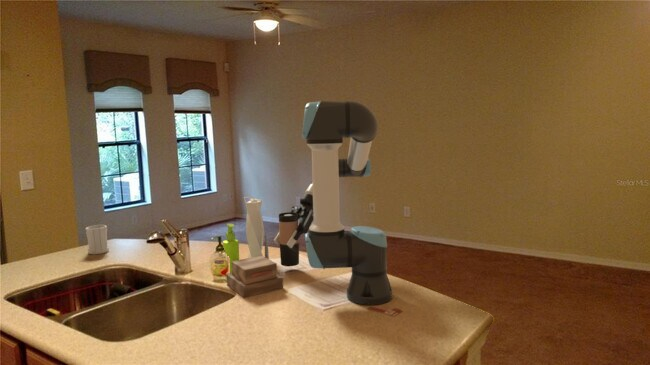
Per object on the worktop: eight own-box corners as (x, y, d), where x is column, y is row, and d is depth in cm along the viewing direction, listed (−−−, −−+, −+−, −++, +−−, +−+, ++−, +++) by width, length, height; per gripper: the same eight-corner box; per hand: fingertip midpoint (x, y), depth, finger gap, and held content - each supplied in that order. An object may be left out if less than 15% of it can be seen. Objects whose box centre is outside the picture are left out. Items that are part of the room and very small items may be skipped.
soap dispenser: (227, 277, 178) (225, 226, 175) (223, 272, 184) (220, 223, 181) (242, 275, 181) (240, 224, 178) (237, 270, 187) (235, 221, 184)
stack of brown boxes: (283, 288, 166) (282, 263, 165) (244, 297, 158) (242, 272, 156) (264, 276, 178) (263, 253, 177) (227, 285, 170) (225, 261, 169)
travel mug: (300, 260, 188) (299, 212, 186) (298, 266, 181) (296, 216, 178) (282, 260, 189) (280, 212, 187) (278, 266, 182) (276, 216, 179)
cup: (80, 254, 215) (77, 228, 213) (93, 248, 224) (91, 224, 222) (101, 254, 213) (98, 229, 211) (113, 249, 222) (111, 224, 220)
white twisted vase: (251, 264, 193) (247, 198, 189) (244, 260, 200) (240, 195, 196) (269, 261, 197) (267, 196, 194) (262, 256, 204) (259, 193, 201)
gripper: (334, 206, 185) (304, 254, 176) (301, 200, 200) (272, 245, 191) (324, 194, 181) (293, 243, 172) (291, 190, 196) (261, 234, 187)
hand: (282, 244), depth 181 cm, fingers closed on travel mug, 7 cm apart
